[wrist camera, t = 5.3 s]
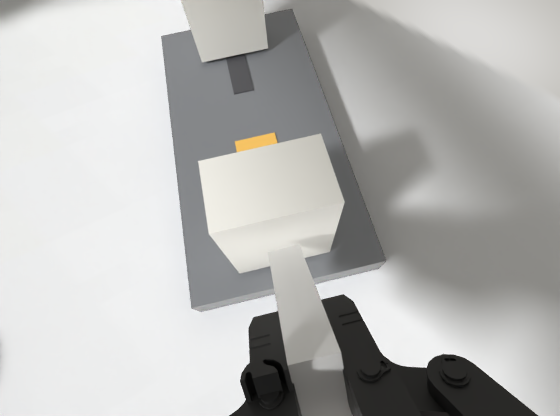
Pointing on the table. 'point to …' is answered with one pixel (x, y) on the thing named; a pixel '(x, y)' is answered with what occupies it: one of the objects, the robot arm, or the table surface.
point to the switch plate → (248, 135)
